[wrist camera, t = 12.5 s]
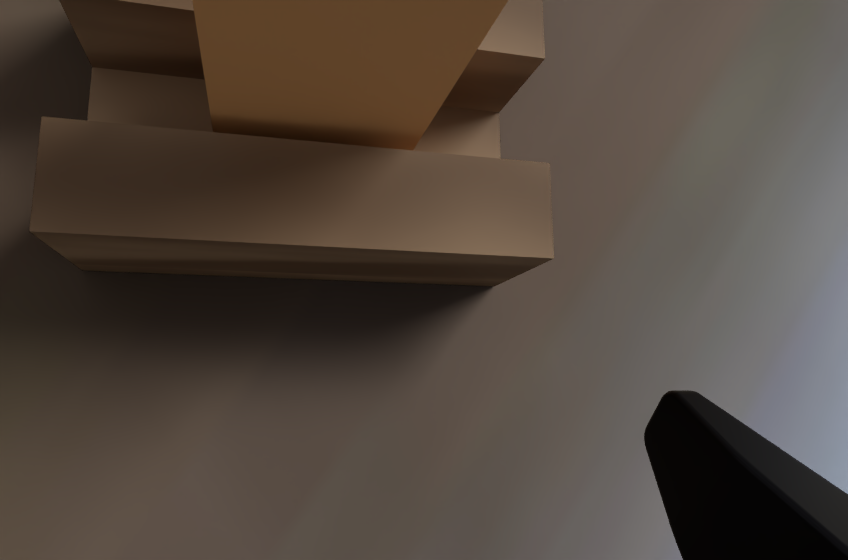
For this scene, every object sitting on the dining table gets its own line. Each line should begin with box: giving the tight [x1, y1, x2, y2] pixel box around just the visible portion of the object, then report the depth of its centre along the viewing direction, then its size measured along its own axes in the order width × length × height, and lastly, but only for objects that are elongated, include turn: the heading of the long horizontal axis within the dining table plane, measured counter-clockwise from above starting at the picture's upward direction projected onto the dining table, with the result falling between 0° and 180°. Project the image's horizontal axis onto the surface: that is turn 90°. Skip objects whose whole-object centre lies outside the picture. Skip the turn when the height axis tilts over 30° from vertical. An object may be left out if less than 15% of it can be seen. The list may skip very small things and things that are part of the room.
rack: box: [29, 0, 554, 286], centre depth 21 cm, size 16×14×5 cm
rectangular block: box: [192, 0, 508, 150], centre depth 16 cm, size 2×6×12 cm, turn 92°
